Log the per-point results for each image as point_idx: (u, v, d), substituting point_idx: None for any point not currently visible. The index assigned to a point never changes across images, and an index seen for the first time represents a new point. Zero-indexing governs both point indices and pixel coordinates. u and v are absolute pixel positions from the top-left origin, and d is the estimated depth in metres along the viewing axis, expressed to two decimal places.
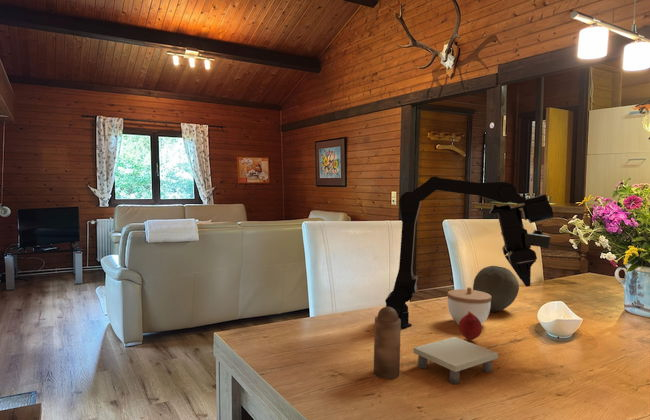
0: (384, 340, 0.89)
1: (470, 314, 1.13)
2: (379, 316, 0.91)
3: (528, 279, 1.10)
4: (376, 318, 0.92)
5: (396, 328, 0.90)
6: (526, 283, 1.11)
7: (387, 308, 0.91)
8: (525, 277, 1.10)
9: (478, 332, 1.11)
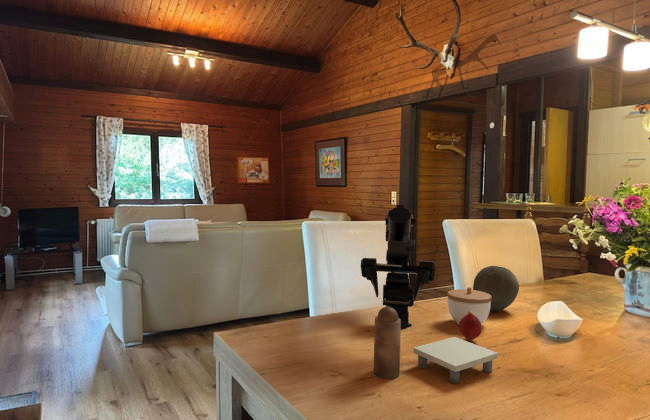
0: (384, 340, 0.89)
1: (470, 314, 1.13)
2: (379, 316, 0.91)
3: (374, 289, 1.07)
4: (376, 318, 0.92)
5: (396, 328, 0.90)
6: (376, 294, 1.06)
7: (387, 308, 0.91)
8: (374, 287, 1.08)
9: (478, 332, 1.11)
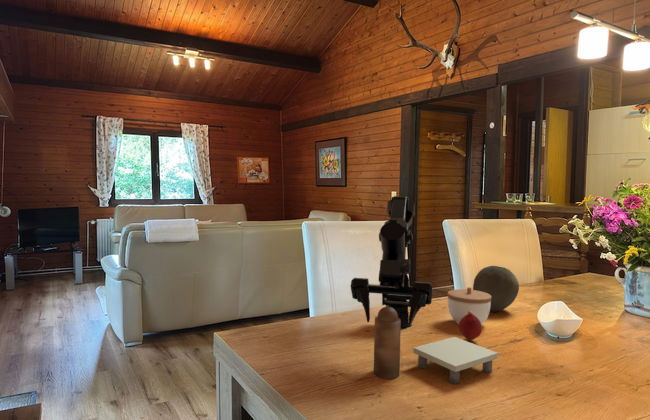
0: (384, 340, 0.89)
1: (470, 314, 1.13)
2: (379, 316, 0.91)
3: (365, 312, 0.97)
4: (376, 318, 0.92)
5: (396, 328, 0.90)
6: (367, 318, 0.97)
7: (387, 308, 0.91)
8: None
9: (478, 332, 1.11)
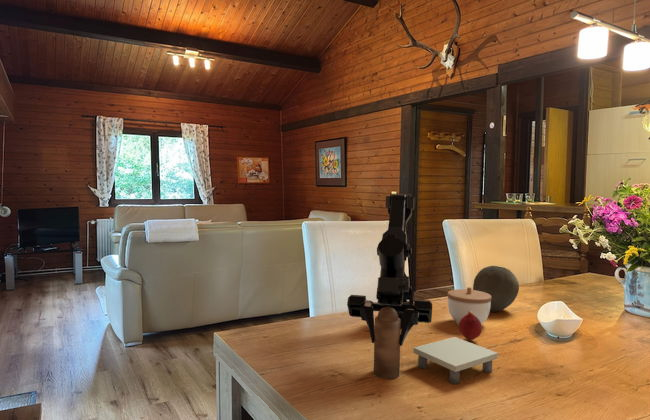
0: (384, 340, 0.89)
1: (470, 314, 1.13)
2: (379, 316, 0.91)
3: (370, 333, 0.93)
4: (376, 318, 0.92)
5: (396, 328, 0.90)
6: None
7: (387, 308, 0.91)
8: None
9: (478, 332, 1.11)
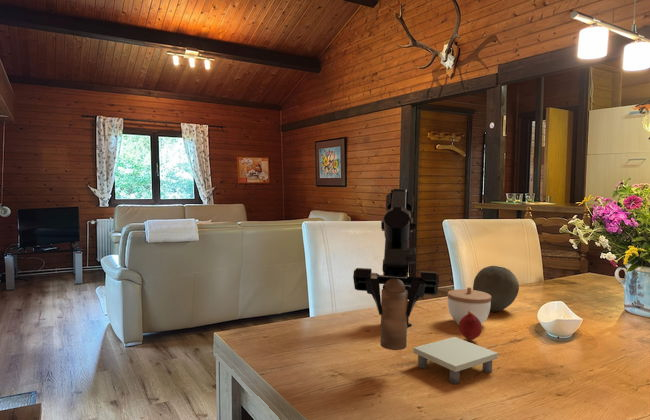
0: (392, 311, 0.89)
1: (470, 314, 1.13)
2: (387, 287, 0.90)
3: (377, 304, 0.92)
4: (383, 290, 0.92)
5: (403, 299, 0.89)
6: (379, 311, 0.92)
7: (394, 279, 0.91)
8: (376, 303, 0.93)
9: (478, 332, 1.11)
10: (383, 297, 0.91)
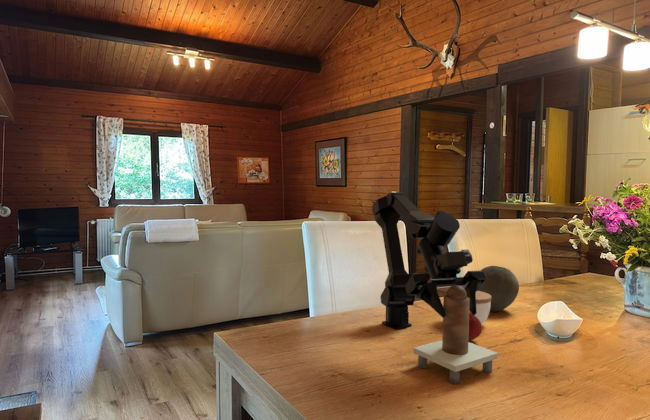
0: (461, 317, 0.92)
1: (470, 314, 1.13)
2: (453, 295, 0.93)
3: (438, 308, 0.93)
4: (447, 298, 0.94)
5: (469, 304, 0.94)
6: (441, 313, 0.93)
7: (458, 286, 0.94)
8: (436, 306, 0.94)
9: (478, 332, 1.11)
10: (451, 305, 0.93)
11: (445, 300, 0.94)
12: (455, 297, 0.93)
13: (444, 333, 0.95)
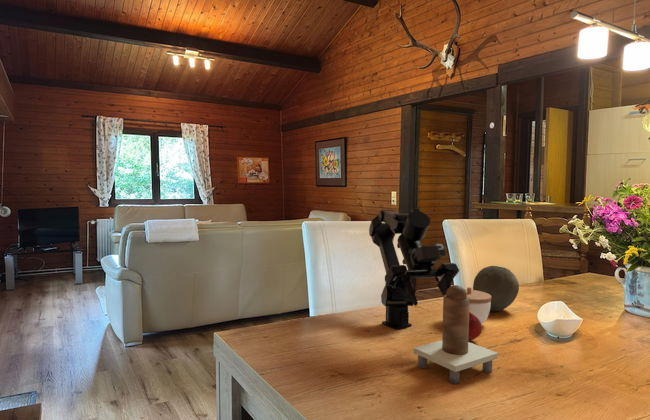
0: (461, 317, 0.92)
1: (470, 314, 1.13)
2: (453, 295, 0.93)
3: (411, 297, 1.02)
4: (446, 298, 0.94)
5: (468, 304, 0.94)
6: (413, 302, 1.02)
7: (458, 286, 0.94)
8: (409, 296, 1.03)
9: (478, 332, 1.11)
10: (450, 305, 0.93)
11: (445, 300, 0.94)
12: (455, 297, 0.93)
13: (444, 333, 0.95)
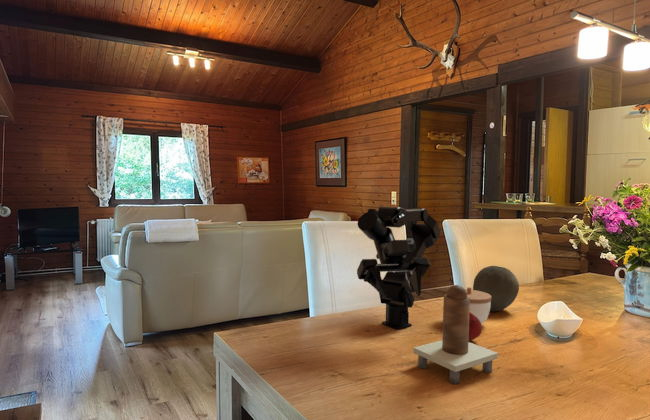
0: (461, 317, 0.92)
1: (470, 314, 1.13)
2: (454, 294, 0.93)
3: (381, 289, 1.05)
4: (447, 297, 0.94)
5: (469, 304, 0.94)
6: (383, 294, 1.05)
7: (458, 286, 0.94)
8: (379, 288, 1.06)
9: (478, 332, 1.11)
10: (451, 304, 0.93)
11: (445, 300, 0.94)
12: (455, 297, 0.93)
13: (444, 333, 0.95)
